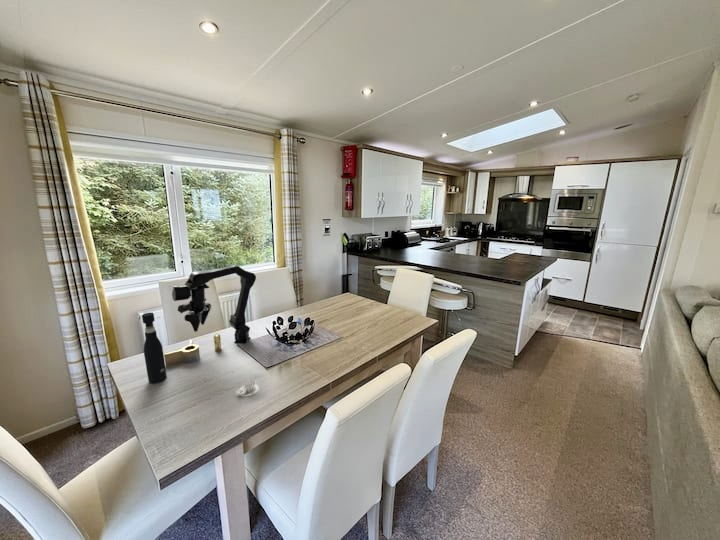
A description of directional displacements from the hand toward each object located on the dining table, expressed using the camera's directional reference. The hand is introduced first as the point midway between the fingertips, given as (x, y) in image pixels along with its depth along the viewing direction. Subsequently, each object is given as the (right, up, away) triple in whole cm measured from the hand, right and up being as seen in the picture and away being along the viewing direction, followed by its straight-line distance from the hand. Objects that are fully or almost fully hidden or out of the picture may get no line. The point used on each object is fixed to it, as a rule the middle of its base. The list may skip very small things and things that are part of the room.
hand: (199, 327), depth 142 cm
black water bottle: (-8, -19, -18) cm, 27 cm away
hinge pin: (+6, -13, +7) cm, 16 cm away
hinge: (-5, -15, -1) cm, 15 cm away
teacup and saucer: (+31, -21, -24) cm, 45 cm away
